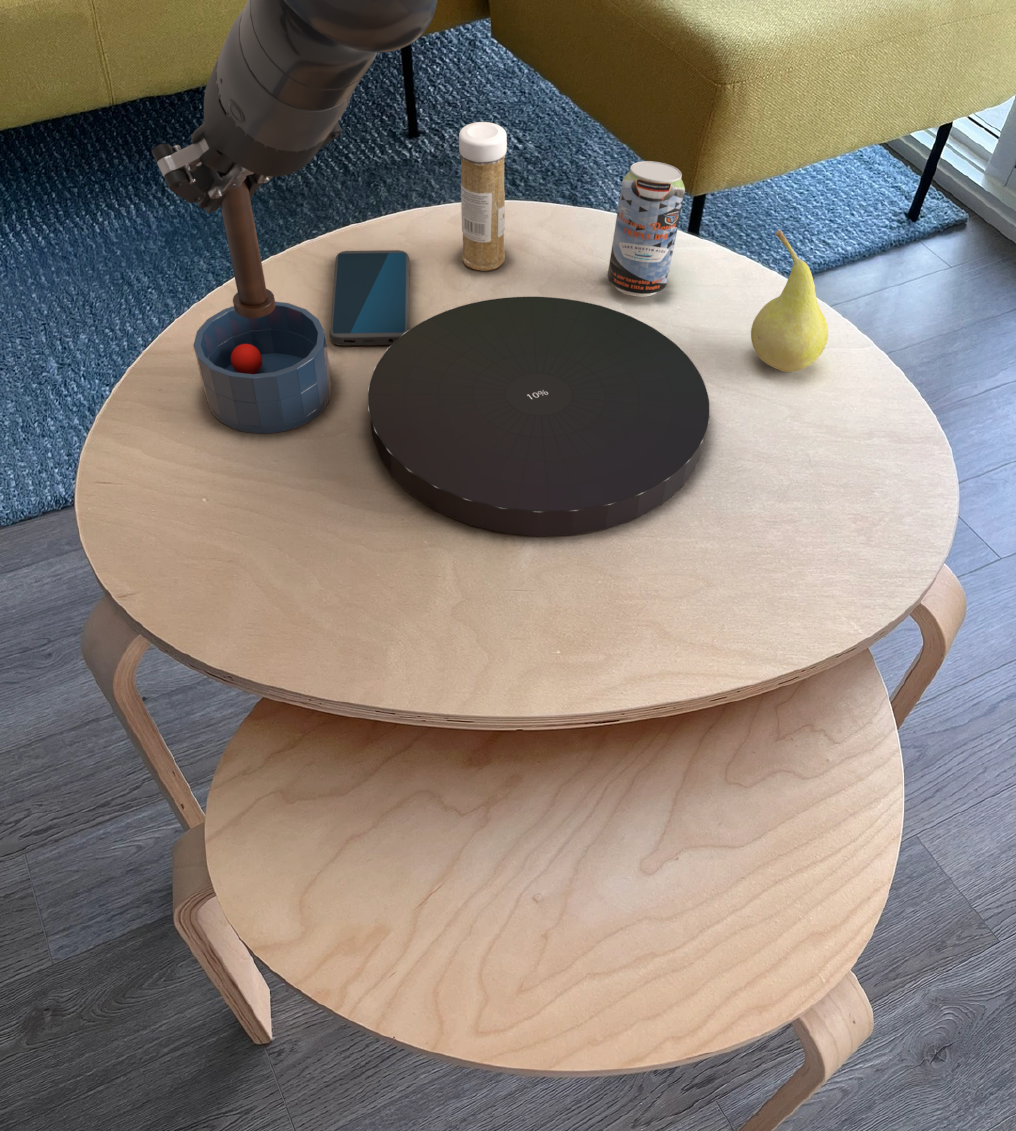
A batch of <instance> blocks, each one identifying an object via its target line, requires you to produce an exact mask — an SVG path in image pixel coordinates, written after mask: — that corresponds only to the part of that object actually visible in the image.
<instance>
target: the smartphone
mask: <svg viewBox="0 0 1016 1131" xmlns="http://www.w3.org/2000/svg"><path fill="white" fill-rule="evenodd" d="M408 330H410V256H409V254H408V253H407V251H405V250H399V249H391V250H390V249H387V250H381V249H380V250H379V249H378V250H377V249H376V250H342V251H340V252H338V253H337V254H336V256H335V260H334V271H333V288H332V300H331V312H330V325H329V338H330V341H331V342H332V343H333V344H335V345H338V346H391V345H392V344H393V343H394V342H395V341H396V340H398V339H399V338H400V337H401V336H402V335H403V334H404V333H405V332H407V331H408Z"/></svg>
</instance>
